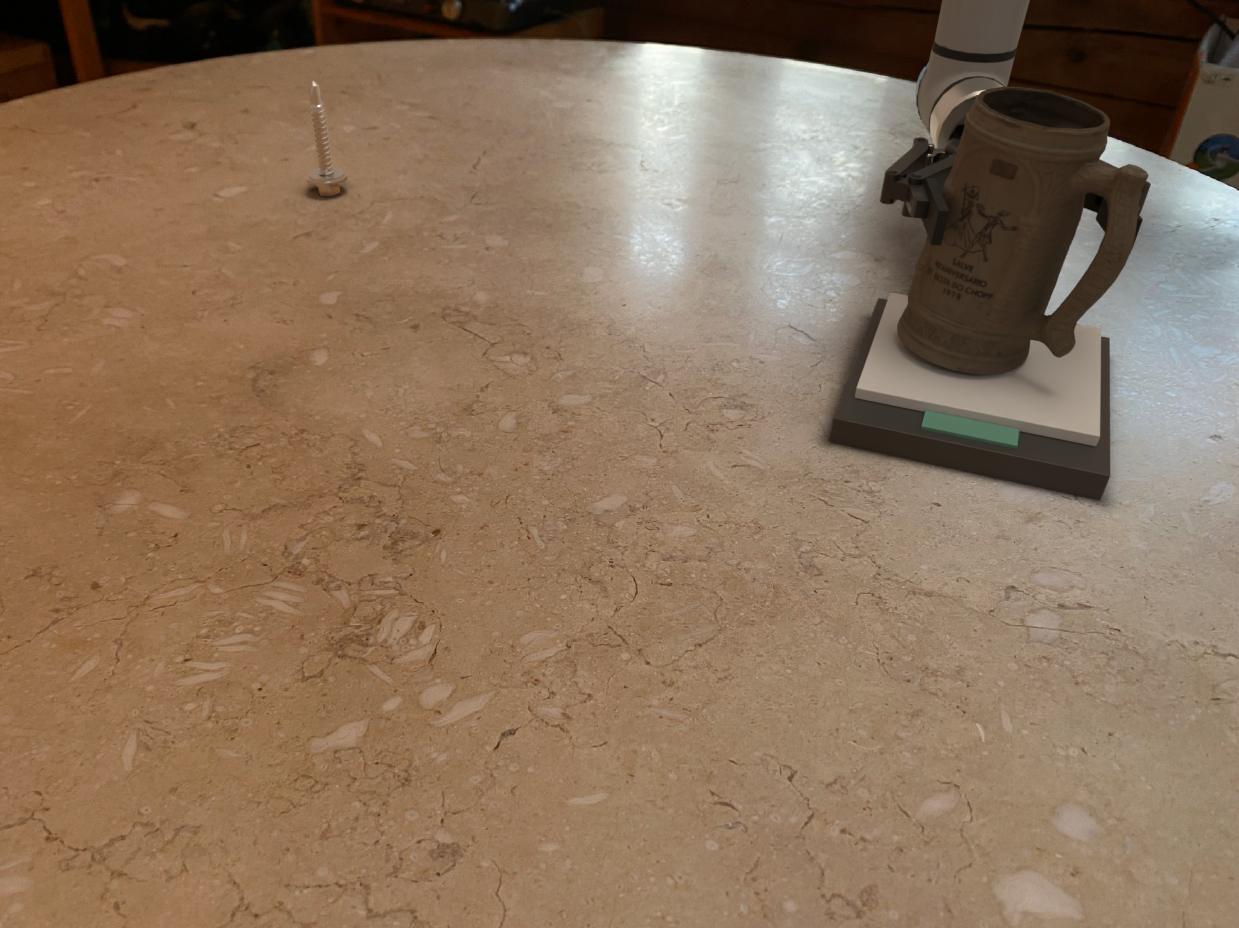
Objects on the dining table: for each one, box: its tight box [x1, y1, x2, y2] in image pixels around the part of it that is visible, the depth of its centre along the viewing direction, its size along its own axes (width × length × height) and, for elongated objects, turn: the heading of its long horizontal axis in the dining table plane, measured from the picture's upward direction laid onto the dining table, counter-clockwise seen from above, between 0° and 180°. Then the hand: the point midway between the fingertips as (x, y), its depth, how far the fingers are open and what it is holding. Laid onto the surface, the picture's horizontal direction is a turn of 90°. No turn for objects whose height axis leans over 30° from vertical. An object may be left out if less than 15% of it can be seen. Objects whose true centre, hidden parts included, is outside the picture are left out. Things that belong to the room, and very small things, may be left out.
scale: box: [828, 292, 1111, 501], centre depth 87 cm, size 20×22×4 cm
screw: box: [305, 80, 349, 198], centre depth 121 cm, size 13×5×5 cm
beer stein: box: [897, 86, 1149, 375], centre depth 80 cm, size 15×11×20 cm
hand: (1034, 232), depth 77 cm, fingers open, 13 cm apart
